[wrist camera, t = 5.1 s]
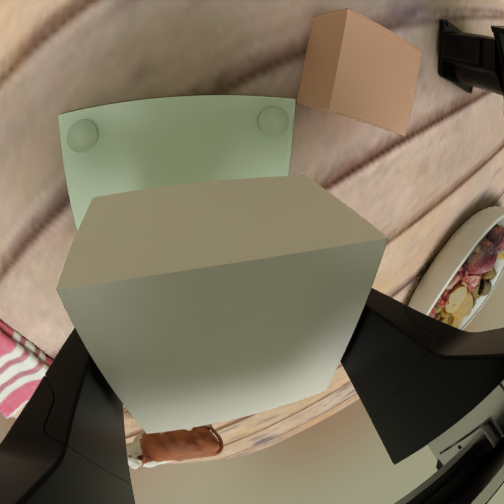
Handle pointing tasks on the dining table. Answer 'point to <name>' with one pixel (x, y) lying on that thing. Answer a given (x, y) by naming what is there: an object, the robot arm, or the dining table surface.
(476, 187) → the dining table surface
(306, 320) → the cream brick
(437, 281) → the bowl
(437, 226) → the dining table surface
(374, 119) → the terracotta brick
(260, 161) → the plate
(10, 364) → the dish towel
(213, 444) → the bull figurine
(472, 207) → the dining table surface
